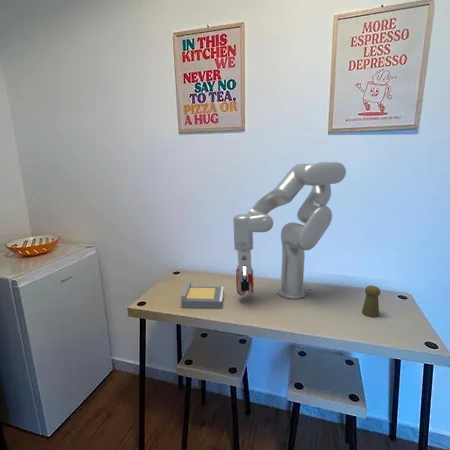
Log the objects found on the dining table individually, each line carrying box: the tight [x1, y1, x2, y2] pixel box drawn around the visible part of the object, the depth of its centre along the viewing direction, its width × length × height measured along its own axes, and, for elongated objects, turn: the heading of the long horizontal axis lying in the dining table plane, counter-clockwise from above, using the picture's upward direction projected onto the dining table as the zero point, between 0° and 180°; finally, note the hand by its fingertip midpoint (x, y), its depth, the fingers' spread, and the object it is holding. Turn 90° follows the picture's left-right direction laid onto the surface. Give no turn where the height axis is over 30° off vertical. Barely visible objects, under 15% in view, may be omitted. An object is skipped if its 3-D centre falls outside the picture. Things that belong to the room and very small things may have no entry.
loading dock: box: [180, 281, 225, 310], centre depth 131 cm, size 16×15×5 cm
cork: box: [361, 285, 381, 319], centre depth 119 cm, size 6×6×11 cm
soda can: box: [235, 265, 255, 297], centre depth 129 cm, size 7×7×12 cm
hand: (244, 286), depth 130 cm, fingers closed on soda can, 7 cm apart
